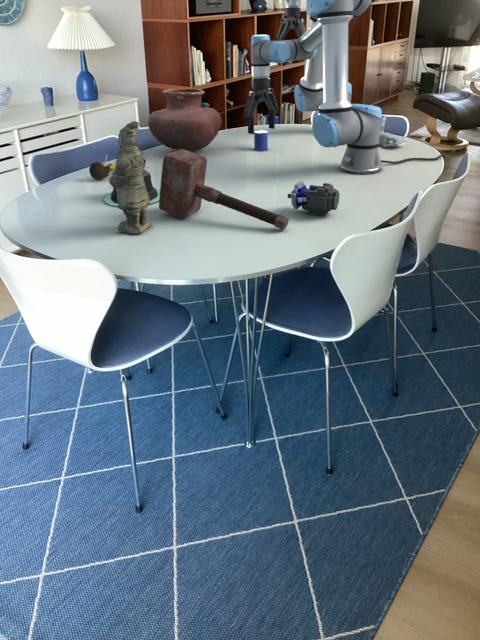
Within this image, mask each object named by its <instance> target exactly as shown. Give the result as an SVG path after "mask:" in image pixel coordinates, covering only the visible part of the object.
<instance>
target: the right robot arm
mask: <svg viewBox="0 0 480 640" xmlns="http://www.w3.org/2000/svg"><path fill="white" fill-rule="evenodd" d="M309 1H310V6H311V7H312V10H313V11H314V12H316V13H317V21H316V22H315V23H314V24H313V25H312V24H311V26H310V27H309V28H308V29H306V32H305V33H304V34H303V35H302V36H301V37H300V38H299V37H298V38H297V39H286V40H283V41H279V40H271V38H270V35H269V34H253V35H252V36H251V38H250V60H251V61H250V63H251V64H250V65H251V88H252V89H253V91H248V92H247V99H246V103H245V106H244V110H243V114H242V116H243V117H244V118H246V125H247V134H249V135H254V132H255V118H254V117H253V116H254V114H255V112H256V110H257V108H258V105H259V104H260V103H262V102H264V103H265V106H266V107H267V109H268V110H269V112H268V129H270V130H274V129H276V127H275V126H276V125H275V124H276V123H275V121H276V114H277V113H278V111H279V104H278V101H277V98H276V96H275V90H274V89H275V88H272V87H271V78H270V77H271V63H274V64H283V63H286V62H295V61H297V62H298V61H307V60H308V59H312V58H313V57H314V56H315V54H316V52H317V48H318V47H319V46H320V45H321V44H322V56H323V103H322V105H321V106H320V107H319V111H318V114H317V115H315V117H314V118H313V120H312V124H311V125H312V126H311V129H312V134H313V137H314V139H315V141H317V143H318V144H319V145H320V146H321V147H323V148H337V147H340V146H344V145H345V146H346V149H345V151H344V154H343V156H342V158H341V162H340V170H341V171H343V172H345V173H349V174H355V175H356V174H357V175H369V174H370V175H371V174H376V173H378V172H380V171H382V163H383V164H392V165H397V164H401V163H404V162H409V161H436V160H437V161H438V160H439V159H441V158H442V157H443V158H447V156H446V155H445V154H444V153H441V154H439V155H438V156H436V157H409V158H404V159H401V160H395V161H392V160H384V159H381V155H380V150H379V147H380V146H379V137H380V129H381V120H382V118H381V117H382V116H383V114H382V113H383V112H382V108H381V107H379V106H377V105H372V104H371V105H370V104H363V103H352V102H351V103H350V102H349V101H348V82H349V23H350V21H351V20H352V19H356V18H358V17H359V16H360V15H362V14H363V13H364V12H365V11H366V10H367V9H368V8H369V6H371V3H372V1H373V0H309Z"/></svg>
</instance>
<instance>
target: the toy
mask: <svg viewBox="0 0 480 640" xmlns="http://www.w3.org/2000/svg"><path fill="white" fill-rule="evenodd" d="M293 187H294V188H293V189H292V191H291V193H288V194H287V199H291V200H290V201H291V202H290V203H291V206H292V207H293V210H298V209H299V208H301V210H303V211H306V212H307V214H310V215H311V214H312V215H318V216H326V215H328V213H330V212H331V211H336V210H337V209H338V205H339V204H340V194H341V193H340V190H338V189H337V188H335V187H334V184H332V183H328V182H324V183H322V185H315V184H310V185H309V186H308V187H309V188H308V187H307V185H306V184H305V183H304V181H301V180H299V181H298V182H296V183H295V184H294V186H293Z"/></svg>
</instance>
